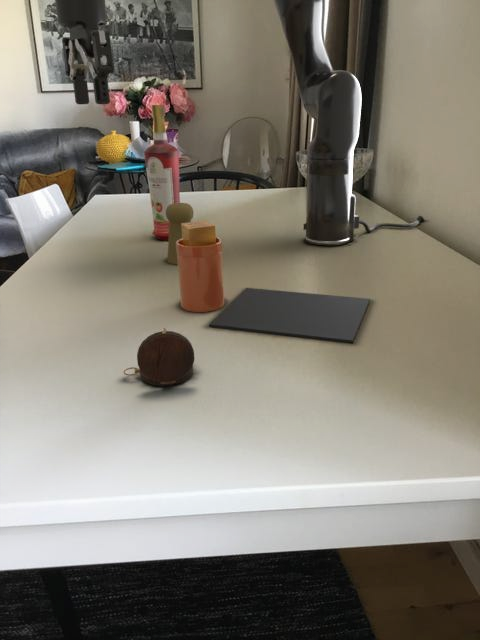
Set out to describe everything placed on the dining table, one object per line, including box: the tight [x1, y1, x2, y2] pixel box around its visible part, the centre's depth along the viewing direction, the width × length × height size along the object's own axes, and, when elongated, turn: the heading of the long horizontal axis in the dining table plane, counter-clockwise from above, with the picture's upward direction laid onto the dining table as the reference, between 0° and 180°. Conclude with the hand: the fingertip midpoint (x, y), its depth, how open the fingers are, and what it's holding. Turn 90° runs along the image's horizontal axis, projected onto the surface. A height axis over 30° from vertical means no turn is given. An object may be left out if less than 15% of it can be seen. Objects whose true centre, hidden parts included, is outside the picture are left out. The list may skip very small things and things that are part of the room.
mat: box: [208, 287, 371, 344], centre depth 83 cm, size 20×16×1 cm
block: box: [181, 220, 217, 247], centre depth 83 cm, size 4×4×4 cm
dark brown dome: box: [122, 327, 195, 386], centre depth 64 cm, size 8×8×7 cm
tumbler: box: [176, 236, 225, 313], centre depth 85 cm, size 7×7×10 cm
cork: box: [166, 202, 194, 266], centre depth 108 cm, size 6×6×11 cm
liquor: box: [143, 104, 181, 241], centre depth 122 cm, size 7×7×28 cm
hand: (92, 104), depth 93 cm, fingers open, 8 cm apart
